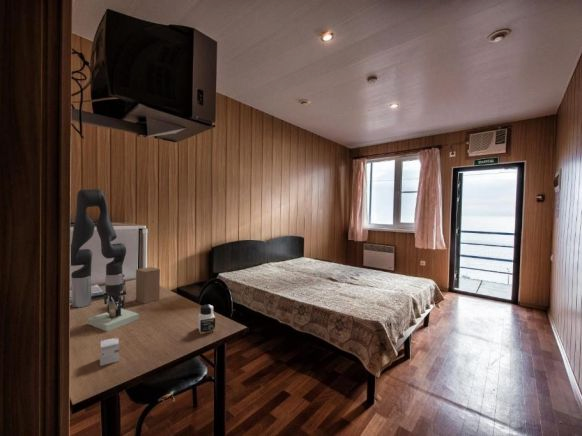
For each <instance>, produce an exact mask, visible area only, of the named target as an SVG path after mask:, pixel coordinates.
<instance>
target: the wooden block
mask: <svg viewBox="0 0 582 436" xmlns="http://www.w3.org/2000/svg"><path fill="white" fill-rule="evenodd" d="M160 270H161V269H160V268H156V267H155V266H154V267H153V266H149V267H144V268H143V267H142V268H137V269H136V273H135V278H136V279H135V280H136V281H135V286H136V287H135V301H137V302H140V303H141V304H144V305H145V304H149V303H151V302H155V301H159V300H160V294H161V293H160V289H161V286H160V284H161V283H160V281H161V280H160V279H161V271H160Z"/></svg>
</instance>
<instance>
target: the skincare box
mask: <svg viewBox="0 0 582 436" xmlns="http://www.w3.org/2000/svg"><path fill="white" fill-rule="evenodd" d="M99 348H100V349H99V366H102V367H103V366H105V365H110V364H114V363H117V362H119V361H120V358H119V357H120V353H119V352H120V343H119V336H117V337H114V338H113V337H112V338H108V339H104V340H100V343H99Z"/></svg>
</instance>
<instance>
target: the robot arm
mask: <svg viewBox="0 0 582 436" xmlns="http://www.w3.org/2000/svg"><path fill="white" fill-rule="evenodd" d="M91 207H98V210H99V215H98V218H97V220H96V224H95V222H94V220H93V219H92V218H91V217H90V215H88V213H87V209H88V208H91ZM75 209H76V212H75V218H74V223H73V229H72V237H71V244H70V247H71V265H70V266H71V267H75V266H76V267H77V266H81V268H78V269H76V270H74V271H73V272H72V273H71V276H70V278H71V281H70V282H71V283H70V284H71V286H70V287H71V293H70V294H71V297H70V298H71V301H70V302H71V307H72V308H75V307H78V308H85V307H87V306H89V305H91V304H92V260H93V252H92V250H91V249H90V248H81V247H83V245H85V244H86V243H87V242H88V241H89V240H91V239H92V237H93V235H94V232H95V227H96V231H97V234H98V236H99V238H100V248H101V249H100V252H101V255H102V256H103V257H104V258H105V259H113V260H112V261H109V262H108V263H107V264H106V266H105V281H104V282H105V283H104V284H105V287H104V288H105V290H104V291H105V292H104V293H103V298H104V299H103V301H104V305H106V307H107V313H109V303H110V302H113V304H114V305H115V307H116V316H120V315H121V308H122V309H124V307H125V302H126V301H125V300H126V297H125V295H121V292H123V280H124V277H123V275H122V274H123V266H124V265H123V264H124V261H125V258H126V255H127V247H126V245H125V244H124V243H122V242H119V243H111V242H113V241H114V240H116V239H117V233H116V230H115V228H114V226H113V224H112V221H111V216H110V212H109V207H108V203H107V200H106V196H105V193H104V192H103V190H102V189H98V188H93V189H92V188H91V189H89V188H88V189H80V190H78V192H77V194H76V208H75ZM116 302H117V303H116ZM117 304H118V306H117Z"/></svg>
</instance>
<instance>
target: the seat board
mask: <svg viewBox="0 0 582 436" xmlns="http://www.w3.org/2000/svg"><path fill="white" fill-rule="evenodd" d="M139 317H140V314H139V313H137V312H135V311H131V310H128V309H126V308H125V309H124V308H121V315H120V316H118V317H116V318H114V319H110V317H109V313H107V312H106V311H105V312H104V313H100V314H97V315H94V316H91V317H88V318H87V325H90V326H91V325H92V327H95V328H96V329H99V330H101V331H105V332H110V331H113V330H115V329H117V328H119V327H120V328H121V327H122V326H126V325H127V324H131V323H134V322H136V321H138V320H140V318H139Z"/></svg>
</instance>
